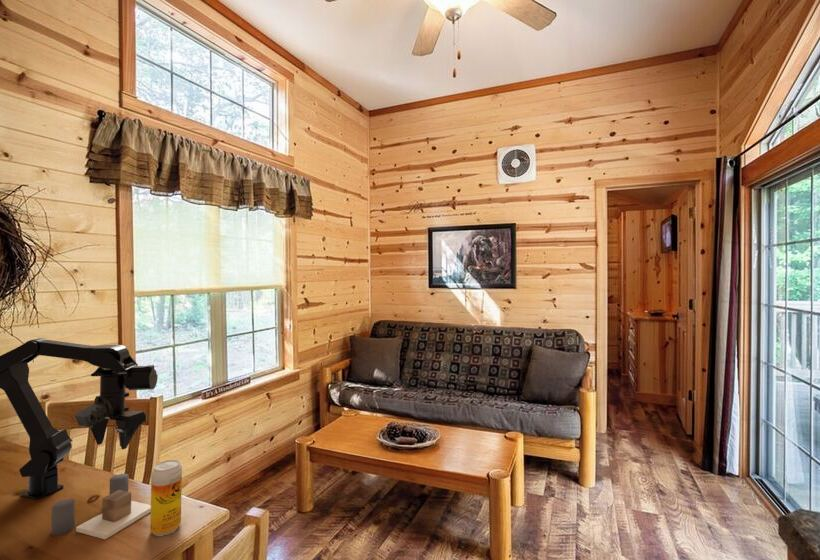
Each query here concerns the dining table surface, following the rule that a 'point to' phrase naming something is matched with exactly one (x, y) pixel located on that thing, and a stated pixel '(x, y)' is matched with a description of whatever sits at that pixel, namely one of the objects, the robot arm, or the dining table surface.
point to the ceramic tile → (108, 528)
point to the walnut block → (116, 505)
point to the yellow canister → (166, 497)
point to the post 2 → (119, 483)
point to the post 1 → (63, 517)
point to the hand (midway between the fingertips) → (111, 446)
